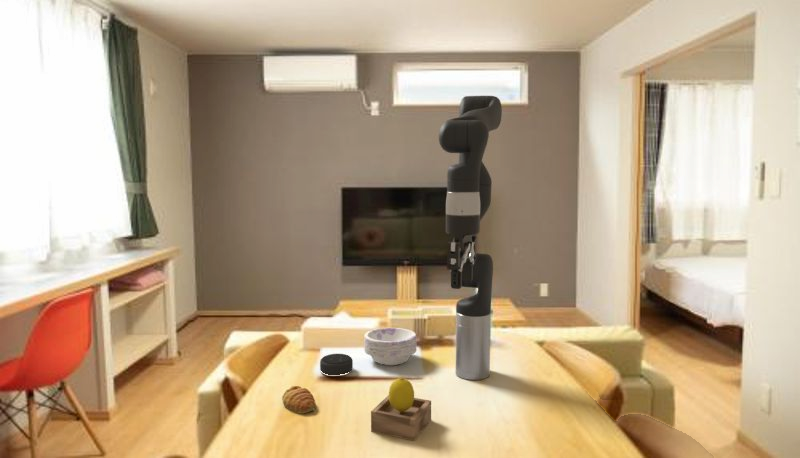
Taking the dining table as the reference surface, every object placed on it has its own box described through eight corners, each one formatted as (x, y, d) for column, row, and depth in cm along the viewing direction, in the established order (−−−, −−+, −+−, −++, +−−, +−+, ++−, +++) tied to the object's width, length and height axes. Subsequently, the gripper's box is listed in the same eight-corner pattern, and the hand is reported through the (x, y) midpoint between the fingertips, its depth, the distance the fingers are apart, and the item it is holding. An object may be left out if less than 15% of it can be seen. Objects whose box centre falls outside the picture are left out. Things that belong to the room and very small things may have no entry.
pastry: (322, 410, 129) (322, 394, 128) (296, 418, 125) (296, 402, 124) (304, 396, 136) (304, 382, 136) (279, 404, 132) (278, 388, 132)
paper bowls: (392, 347, 172) (392, 323, 171) (427, 360, 161) (427, 334, 160) (353, 359, 161) (353, 333, 160) (388, 374, 150) (388, 346, 149)
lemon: (410, 419, 117) (410, 383, 116) (385, 416, 118) (385, 381, 117) (417, 408, 122) (416, 373, 121) (393, 406, 124) (392, 371, 123)
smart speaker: (313, 371, 152) (313, 357, 152) (339, 364, 158) (339, 350, 158) (332, 381, 146) (332, 366, 145) (359, 372, 152) (359, 358, 151)
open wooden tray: (390, 412, 127) (390, 393, 127) (431, 420, 123) (431, 400, 123) (371, 431, 118) (370, 411, 118) (414, 440, 114) (414, 419, 114)
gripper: (470, 215, 113) (469, 293, 115) (487, 210, 126) (486, 279, 128) (435, 214, 116) (435, 289, 118) (456, 209, 129) (455, 277, 131)
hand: (462, 284), depth 123 cm, fingers open, 8 cm apart
